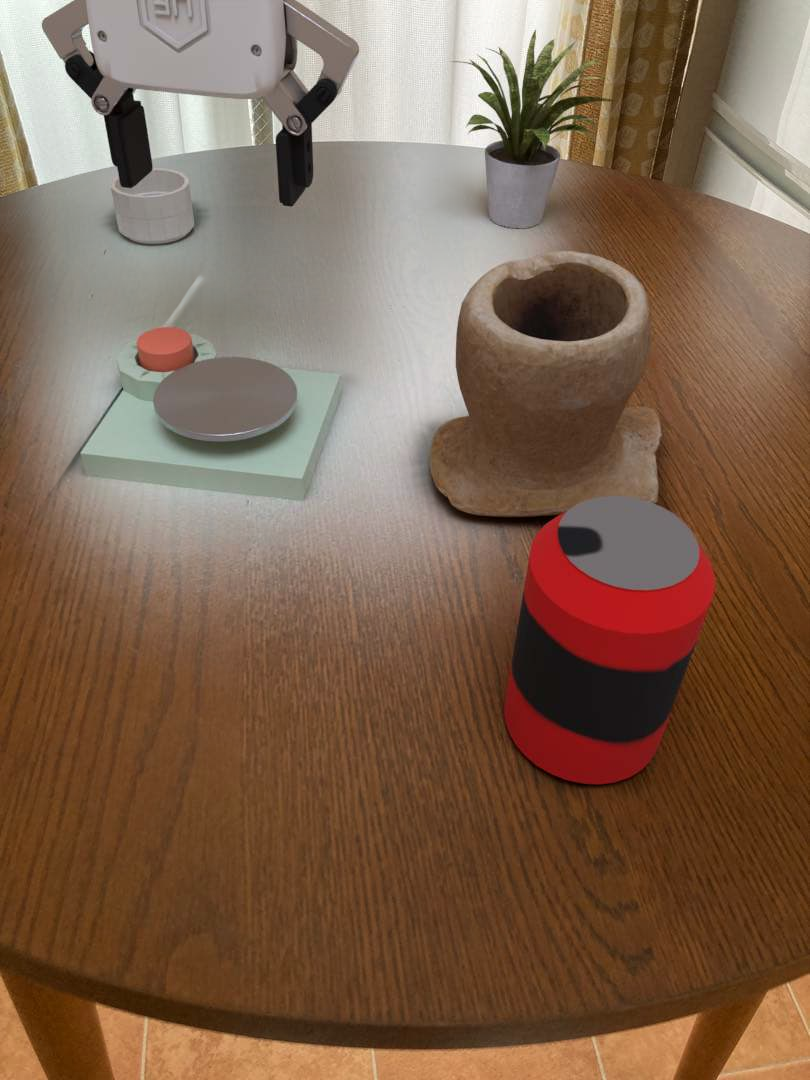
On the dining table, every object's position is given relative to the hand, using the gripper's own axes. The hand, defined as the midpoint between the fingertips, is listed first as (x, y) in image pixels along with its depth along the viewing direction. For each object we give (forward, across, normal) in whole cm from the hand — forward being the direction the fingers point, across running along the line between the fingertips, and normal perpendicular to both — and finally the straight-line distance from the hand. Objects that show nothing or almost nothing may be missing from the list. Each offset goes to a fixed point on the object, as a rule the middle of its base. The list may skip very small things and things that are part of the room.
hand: (214, 188), depth 54 cm
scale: (+15, 0, -4) cm, 16 cm away
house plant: (+15, +15, +36) cm, 42 cm away
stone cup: (+15, +22, -4) cm, 27 cm away
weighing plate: (+12, +1, -4) cm, 13 cm away
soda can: (+15, +25, -22) cm, 37 cm away
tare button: (+12, -5, 0) cm, 13 cm away
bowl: (+15, -17, +26) cm, 34 cm away
